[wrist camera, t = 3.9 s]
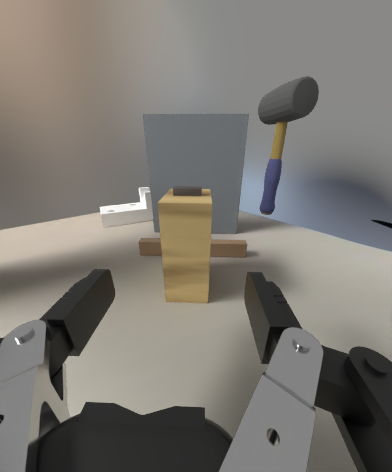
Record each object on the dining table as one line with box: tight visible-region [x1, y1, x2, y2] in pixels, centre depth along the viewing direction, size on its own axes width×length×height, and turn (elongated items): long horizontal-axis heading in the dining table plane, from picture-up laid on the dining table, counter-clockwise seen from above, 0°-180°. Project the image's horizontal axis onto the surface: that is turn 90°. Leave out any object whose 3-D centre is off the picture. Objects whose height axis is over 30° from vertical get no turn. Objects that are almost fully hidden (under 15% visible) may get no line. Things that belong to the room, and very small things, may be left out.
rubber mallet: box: [258, 76, 319, 215], centre depth 46 cm, size 12×8×30 cm, turn 15°
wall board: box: [139, 114, 249, 257], centre depth 32 cm, size 12×18×22 cm, turn 88°
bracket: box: [100, 187, 153, 228], centre depth 47 cm, size 13×7×8 cm, turn 117°
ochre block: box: [158, 186, 212, 303], centre depth 22 cm, size 7×5×13 cm
